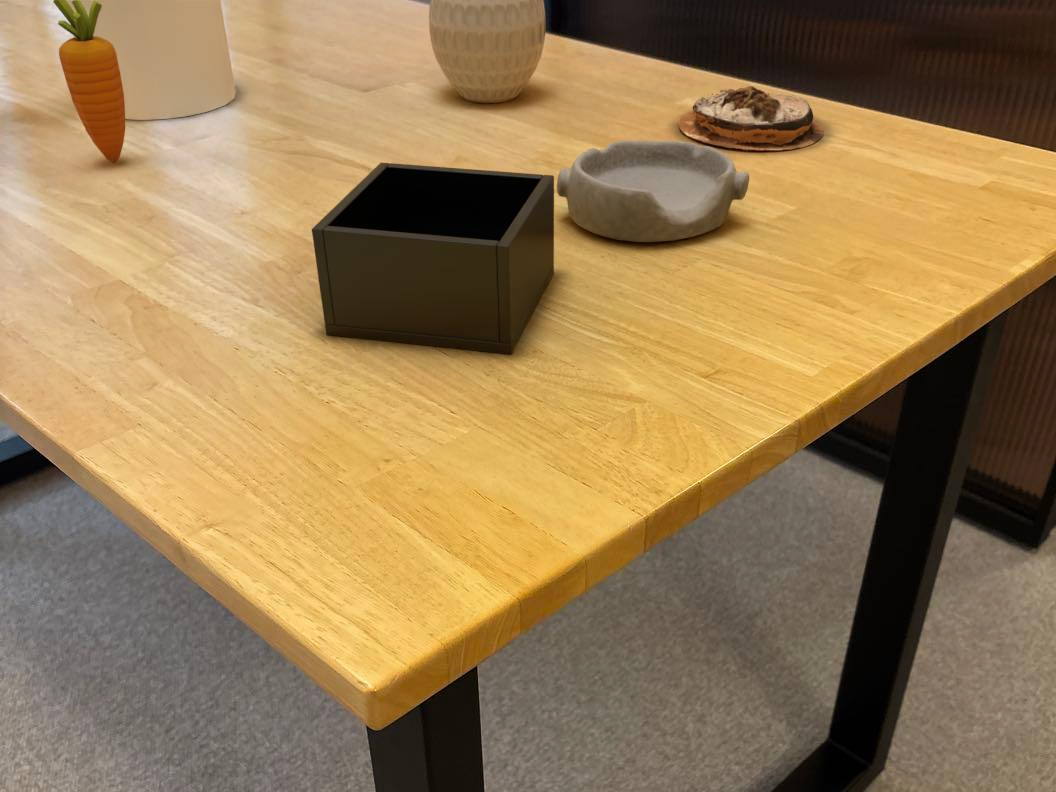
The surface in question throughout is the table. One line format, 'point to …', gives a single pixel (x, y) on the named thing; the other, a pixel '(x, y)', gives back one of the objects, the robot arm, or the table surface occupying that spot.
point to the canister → (168, 55)
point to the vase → (487, 45)
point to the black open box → (437, 256)
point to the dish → (651, 190)
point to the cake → (752, 121)
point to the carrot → (93, 78)
